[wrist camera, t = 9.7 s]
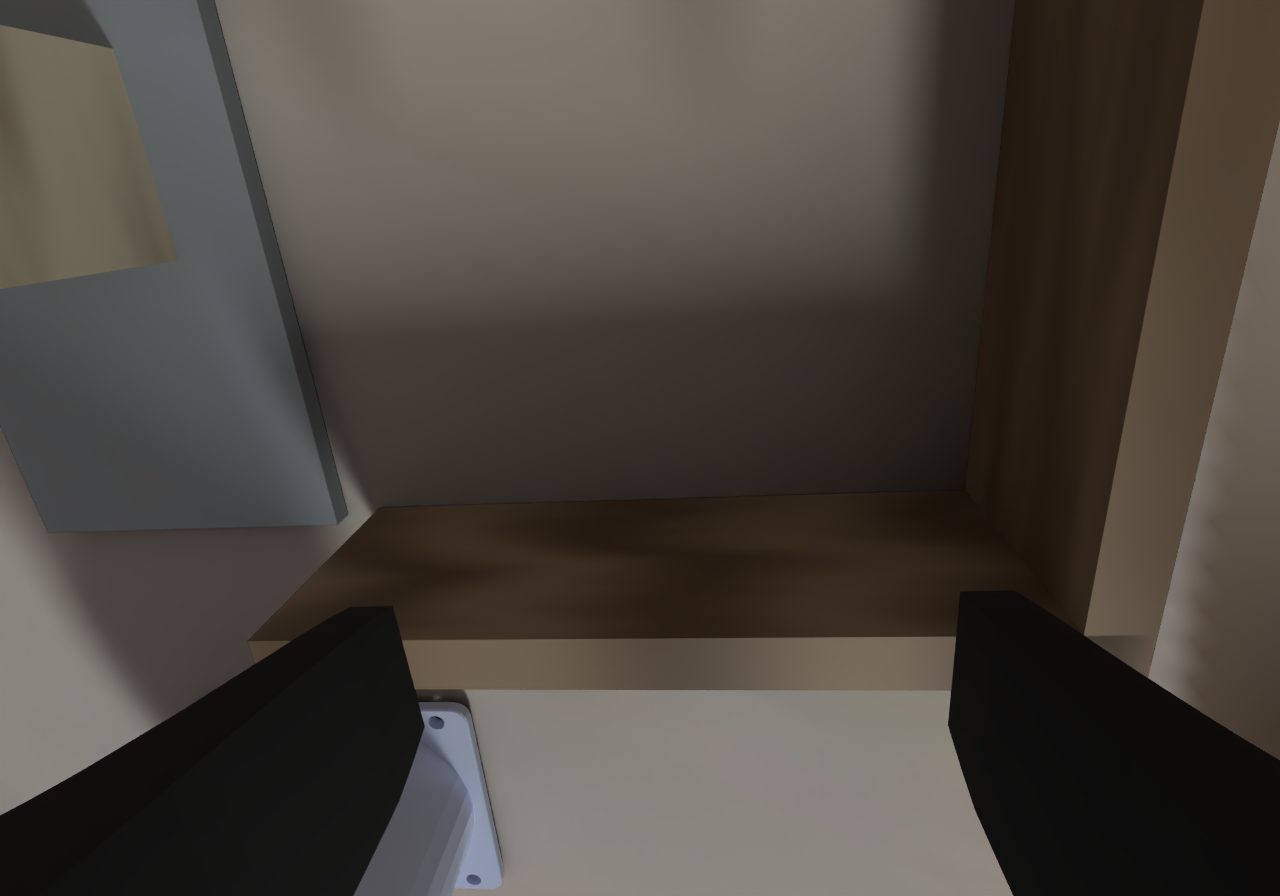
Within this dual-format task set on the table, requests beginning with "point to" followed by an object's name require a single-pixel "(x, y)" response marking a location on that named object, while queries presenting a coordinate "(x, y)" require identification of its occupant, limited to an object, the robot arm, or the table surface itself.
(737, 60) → the table surface
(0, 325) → the mat
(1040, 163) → the wooden u-shaped frame
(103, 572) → the table surface
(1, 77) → the block
